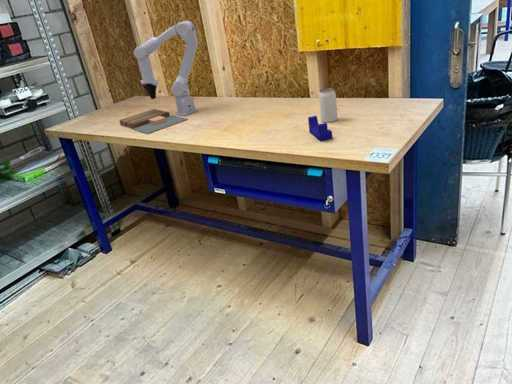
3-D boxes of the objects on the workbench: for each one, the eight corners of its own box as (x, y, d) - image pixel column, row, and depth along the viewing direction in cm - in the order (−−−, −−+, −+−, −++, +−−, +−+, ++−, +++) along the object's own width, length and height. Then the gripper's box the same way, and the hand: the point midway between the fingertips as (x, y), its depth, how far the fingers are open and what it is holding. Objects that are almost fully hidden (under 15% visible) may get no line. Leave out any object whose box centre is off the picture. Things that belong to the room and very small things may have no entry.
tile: (166, 121, 205) (165, 117, 204) (155, 125, 202) (154, 121, 201) (160, 119, 210) (159, 115, 209) (149, 123, 207) (148, 119, 206)
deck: (170, 116, 214) (168, 112, 213) (134, 129, 203) (133, 124, 202) (155, 113, 225) (154, 109, 224) (120, 125, 215) (119, 120, 214)
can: (338, 117, 168) (336, 87, 163) (336, 122, 163) (333, 91, 158) (322, 118, 171) (320, 88, 166) (319, 123, 165) (316, 92, 160)
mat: (188, 119, 203) (188, 118, 203) (147, 134, 191) (147, 133, 191) (171, 116, 214) (171, 115, 214) (132, 129, 202) (132, 128, 202)
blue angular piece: (332, 139, 147) (331, 122, 145) (320, 142, 147) (318, 125, 144) (321, 130, 158) (319, 114, 156) (309, 132, 158) (307, 117, 155)
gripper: (132, 73, 212) (140, 99, 218) (146, 73, 202) (153, 101, 208) (145, 69, 216) (151, 96, 222) (159, 70, 206) (166, 97, 212)
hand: (153, 98), depth 215 cm, fingers closed
